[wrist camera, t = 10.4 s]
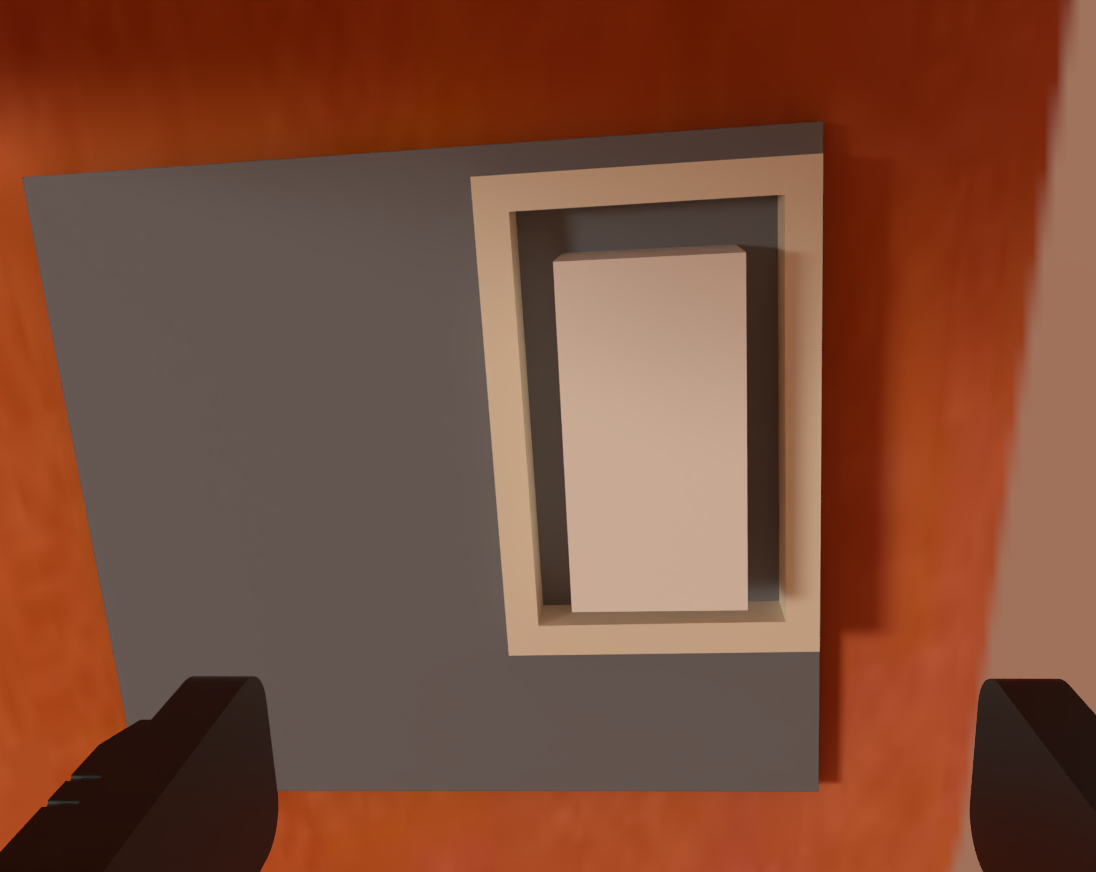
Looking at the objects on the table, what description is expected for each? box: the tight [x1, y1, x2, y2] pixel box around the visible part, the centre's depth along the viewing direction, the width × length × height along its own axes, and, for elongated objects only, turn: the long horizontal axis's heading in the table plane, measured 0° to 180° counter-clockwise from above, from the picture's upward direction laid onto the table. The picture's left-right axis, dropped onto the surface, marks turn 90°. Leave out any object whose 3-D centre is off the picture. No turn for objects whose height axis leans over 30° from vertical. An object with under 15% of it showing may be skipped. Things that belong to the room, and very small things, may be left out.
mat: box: [22, 121, 823, 792], centre depth 25 cm, size 19×17×2 cm
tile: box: [553, 244, 748, 612], centre depth 23 cm, size 8×4×2 cm, turn 3°
